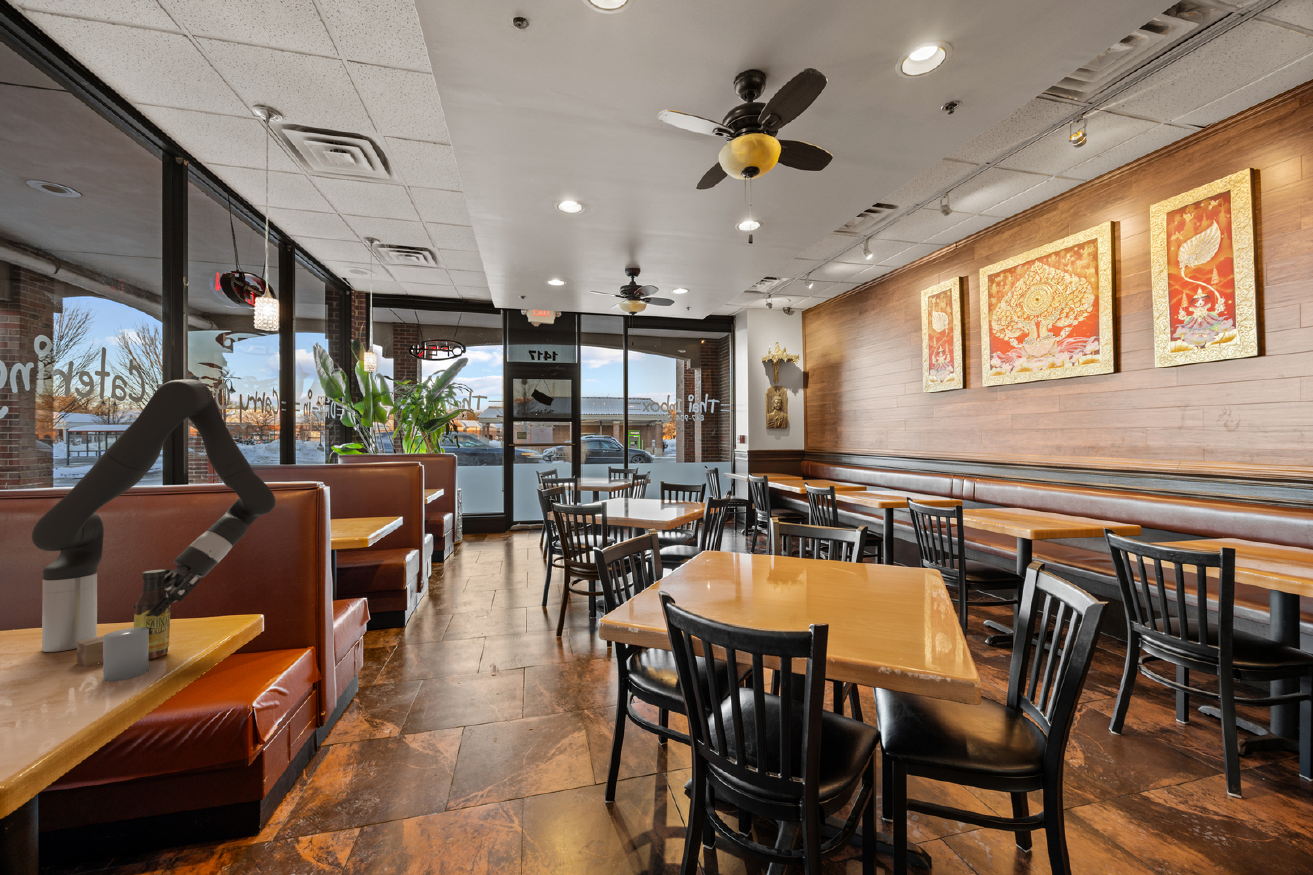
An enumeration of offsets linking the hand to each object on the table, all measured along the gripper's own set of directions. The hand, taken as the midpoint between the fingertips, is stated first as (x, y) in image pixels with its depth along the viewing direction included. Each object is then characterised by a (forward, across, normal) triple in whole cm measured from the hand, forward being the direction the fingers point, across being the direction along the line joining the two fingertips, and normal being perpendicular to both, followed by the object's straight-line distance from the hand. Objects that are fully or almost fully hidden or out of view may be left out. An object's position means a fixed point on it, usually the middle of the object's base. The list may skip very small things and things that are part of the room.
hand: (144, 612), depth 125 cm
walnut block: (+12, -8, +4) cm, 15 cm away
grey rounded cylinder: (+12, +8, +4) cm, 15 cm away
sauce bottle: (+7, 0, +9) cm, 11 cm away
